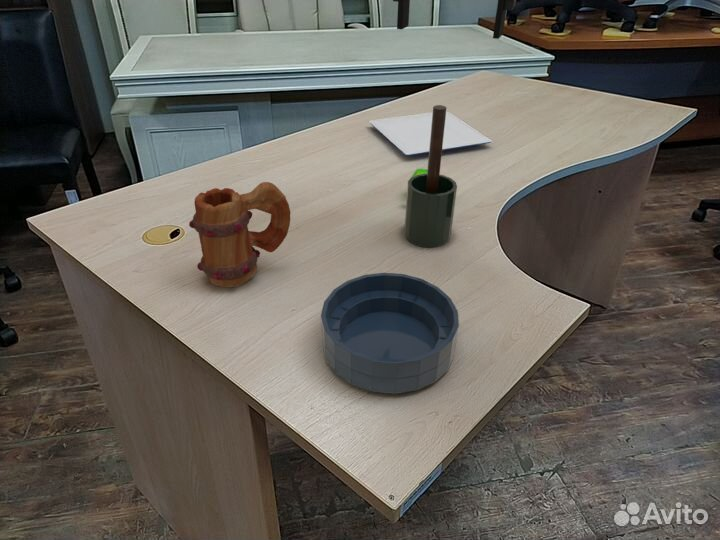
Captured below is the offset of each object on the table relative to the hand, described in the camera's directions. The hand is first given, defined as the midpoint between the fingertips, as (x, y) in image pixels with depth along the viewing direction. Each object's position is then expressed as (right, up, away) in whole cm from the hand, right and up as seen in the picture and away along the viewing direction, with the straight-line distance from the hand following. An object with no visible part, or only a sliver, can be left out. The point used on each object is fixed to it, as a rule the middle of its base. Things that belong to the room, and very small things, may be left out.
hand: (448, 32), depth 73 cm
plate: (+4, -1, +56) cm, 57 cm away
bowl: (-9, -43, -3) cm, 44 cm away
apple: (0, -19, +30) cm, 36 cm away
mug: (-30, -34, +10) cm, 46 cm away
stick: (0, -26, +19) cm, 33 cm away
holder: (0, -27, +20) cm, 33 cm away
